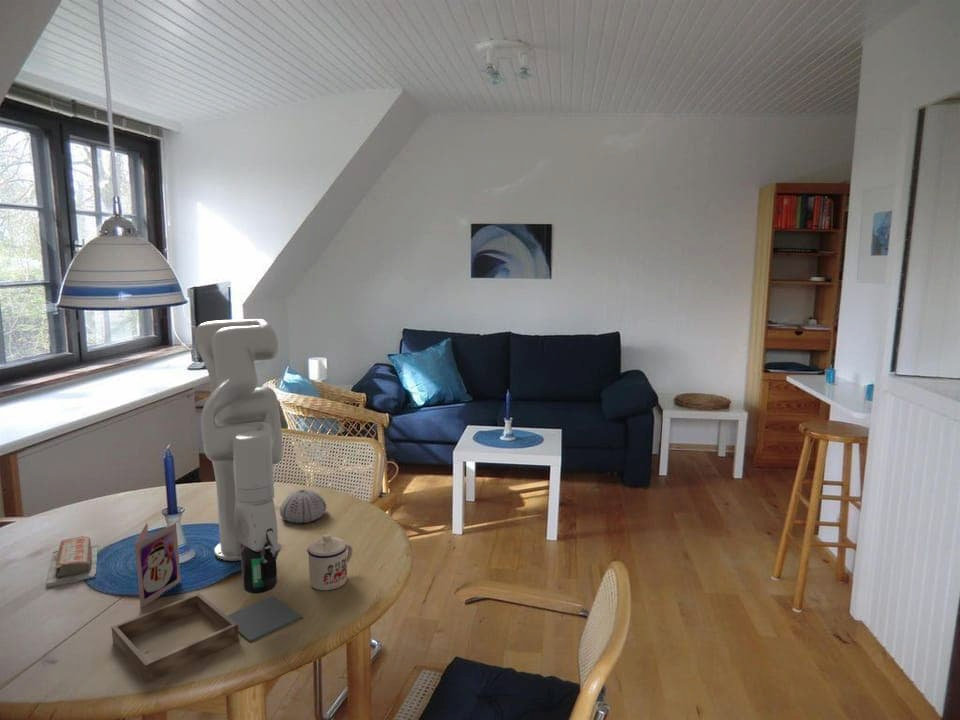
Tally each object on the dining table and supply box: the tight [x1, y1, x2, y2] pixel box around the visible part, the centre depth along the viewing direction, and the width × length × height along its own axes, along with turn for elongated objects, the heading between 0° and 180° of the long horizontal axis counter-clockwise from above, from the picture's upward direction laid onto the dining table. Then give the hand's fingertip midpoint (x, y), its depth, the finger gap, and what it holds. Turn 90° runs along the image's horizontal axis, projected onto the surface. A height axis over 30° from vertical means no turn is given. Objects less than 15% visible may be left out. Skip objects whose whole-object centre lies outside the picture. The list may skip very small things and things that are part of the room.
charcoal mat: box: [226, 595, 304, 643], centre depth 138 cm, size 12×12×1 cm
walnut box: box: [111, 592, 240, 684], centre depth 130 cm, size 18×18×4 cm
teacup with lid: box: [306, 533, 354, 591], centre depth 154 cm, size 12×9×12 cm
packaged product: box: [46, 535, 99, 588], centre depth 160 cm, size 18×5×10 cm
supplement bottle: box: [240, 543, 278, 595], centre depth 136 cm, size 7×7×12 cm
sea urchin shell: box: [279, 488, 327, 524], centre depth 190 cm, size 13×14×8 cm
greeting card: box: [134, 522, 182, 608], centre depth 147 cm, size 11×7×15 cm, turn 160°
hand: (259, 571), depth 136 cm, fingers closed on supplement bottle, 6 cm apart
